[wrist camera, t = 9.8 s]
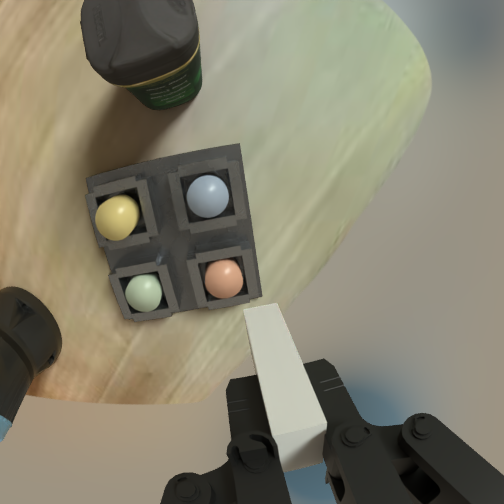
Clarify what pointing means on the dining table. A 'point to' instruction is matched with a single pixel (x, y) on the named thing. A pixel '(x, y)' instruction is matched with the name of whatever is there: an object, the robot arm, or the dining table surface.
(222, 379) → the dining table surface
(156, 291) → the sage button
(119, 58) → the coffee jar
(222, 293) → the terracotta button
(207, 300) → the button panel
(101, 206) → the mustard button
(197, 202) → the slate button
